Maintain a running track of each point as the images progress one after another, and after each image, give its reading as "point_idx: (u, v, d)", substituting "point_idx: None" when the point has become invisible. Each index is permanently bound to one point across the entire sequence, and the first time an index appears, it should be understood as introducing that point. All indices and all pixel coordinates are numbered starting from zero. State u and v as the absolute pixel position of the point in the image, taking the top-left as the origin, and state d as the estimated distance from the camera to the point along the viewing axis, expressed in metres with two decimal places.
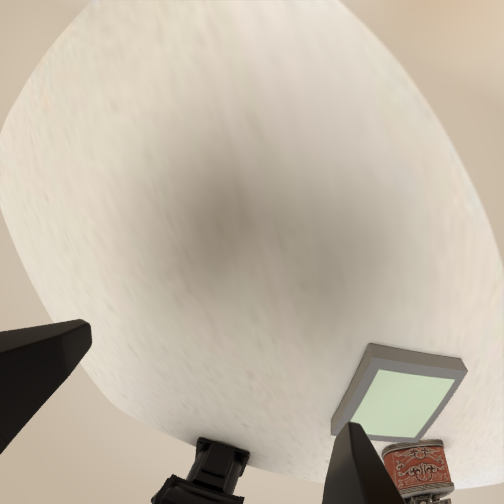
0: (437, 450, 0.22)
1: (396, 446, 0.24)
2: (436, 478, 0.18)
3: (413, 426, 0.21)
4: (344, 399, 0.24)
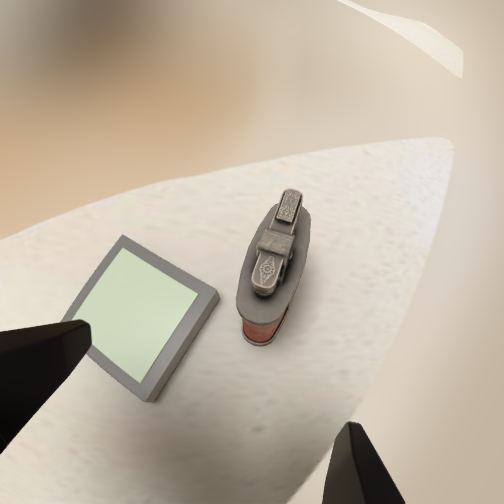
0: None
1: (242, 322, 0.22)
2: None
3: (172, 294, 0.22)
4: None
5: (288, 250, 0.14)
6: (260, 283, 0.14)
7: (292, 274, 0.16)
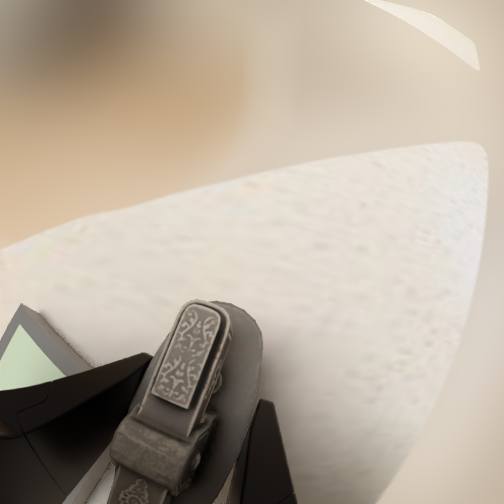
0: None
1: None
2: None
3: None
4: None
5: (172, 485, 0.04)
6: None
7: (213, 468, 0.06)
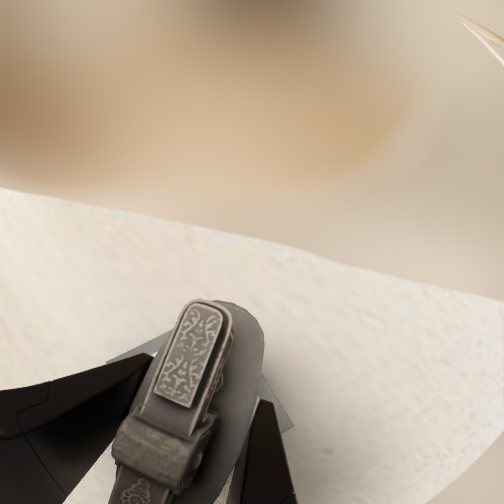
0: None
1: None
2: None
3: None
4: None
5: (174, 484, 0.04)
6: None
7: (214, 468, 0.06)
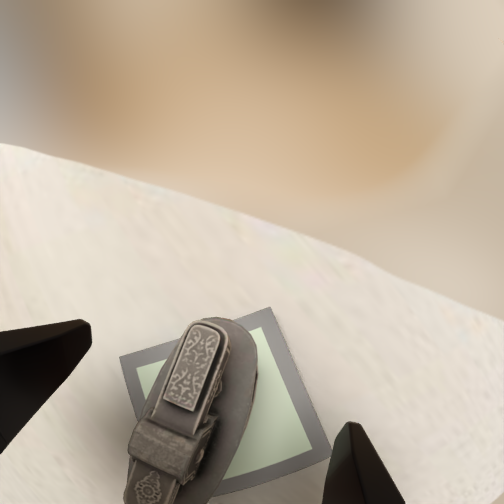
0: None
1: None
2: None
3: (283, 431, 0.14)
4: None
5: (181, 474, 0.05)
6: None
7: (214, 462, 0.07)
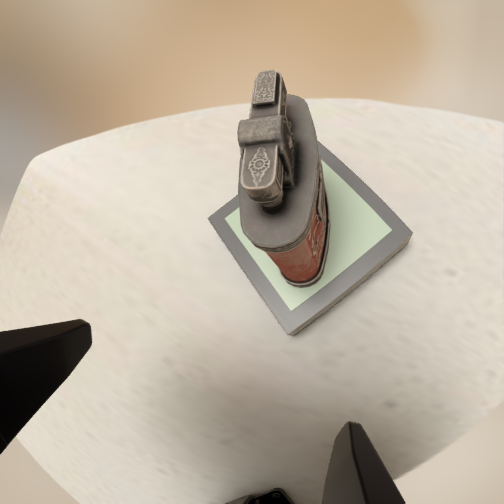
0: None
1: None
2: None
3: (362, 221, 0.18)
4: None
5: (278, 130, 0.09)
6: (254, 185, 0.09)
7: (305, 170, 0.11)
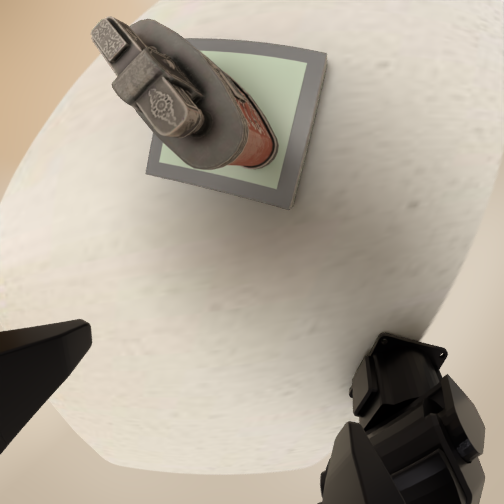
0: None
1: None
2: None
3: (275, 73, 0.15)
4: None
5: (154, 64, 0.07)
6: (173, 126, 0.08)
7: (201, 74, 0.09)
